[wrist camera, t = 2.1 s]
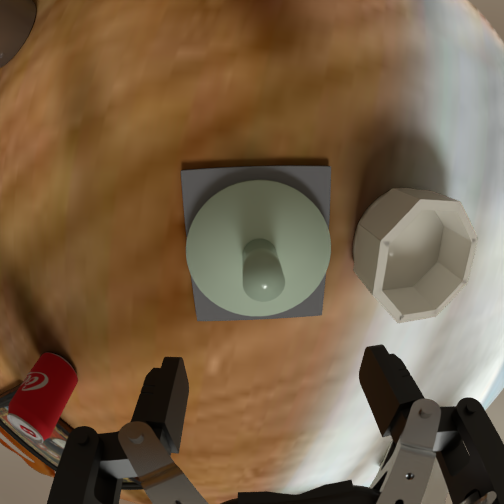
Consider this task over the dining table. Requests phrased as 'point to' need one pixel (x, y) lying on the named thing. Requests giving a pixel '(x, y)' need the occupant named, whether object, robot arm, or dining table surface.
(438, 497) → the vase
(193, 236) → the lid
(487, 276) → the dining table surface
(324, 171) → the mat
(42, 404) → the beverage can
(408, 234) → the bowl
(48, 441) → the religious icon
